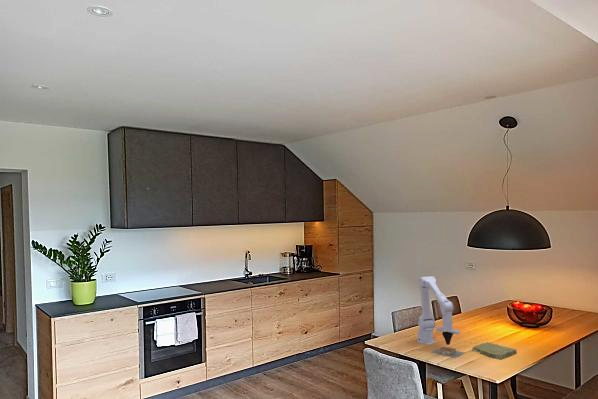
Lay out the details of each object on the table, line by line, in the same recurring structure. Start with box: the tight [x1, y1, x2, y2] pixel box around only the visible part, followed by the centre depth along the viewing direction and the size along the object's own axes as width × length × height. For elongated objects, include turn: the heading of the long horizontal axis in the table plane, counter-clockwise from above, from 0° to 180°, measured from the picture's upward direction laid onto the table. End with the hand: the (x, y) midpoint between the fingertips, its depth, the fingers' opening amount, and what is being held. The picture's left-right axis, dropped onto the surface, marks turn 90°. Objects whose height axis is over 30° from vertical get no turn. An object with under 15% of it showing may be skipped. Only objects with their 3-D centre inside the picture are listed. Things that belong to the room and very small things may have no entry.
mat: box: [430, 346, 465, 359], centre depth 275 cm, size 16×13×1 cm
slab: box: [437, 345, 457, 356], centre depth 275 cm, size 2×7×8 cm
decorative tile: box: [471, 341, 518, 361], centre depth 274 cm, size 19×20×4 cm
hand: (448, 344), depth 274 cm, fingers closed
